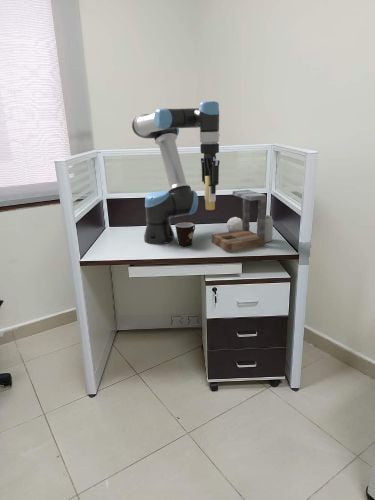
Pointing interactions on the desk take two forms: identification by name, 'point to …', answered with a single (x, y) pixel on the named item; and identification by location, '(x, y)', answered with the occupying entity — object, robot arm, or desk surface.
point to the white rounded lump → (234, 224)
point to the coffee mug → (185, 233)
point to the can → (268, 228)
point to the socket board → (237, 240)
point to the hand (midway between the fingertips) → (210, 200)
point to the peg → (208, 204)
